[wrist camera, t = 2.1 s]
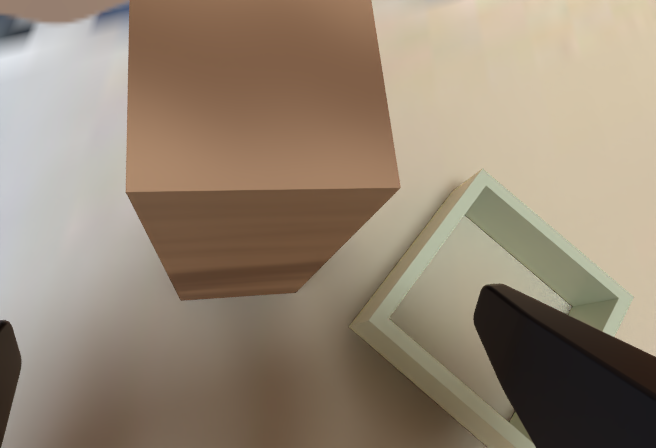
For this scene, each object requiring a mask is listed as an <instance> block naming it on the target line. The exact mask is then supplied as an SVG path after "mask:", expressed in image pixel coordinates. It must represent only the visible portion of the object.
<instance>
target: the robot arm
mask: <svg viewBox="0 0 656 448" xmlns="http://www.w3.org/2000/svg"><path fill="white" fill-rule="evenodd" d="M474 325H475V328H476V330H477V332H478V335H479V337H480V339H481V341H482V344H483V346H484V348H485V350H486V353H487V355H488V357H489V360H490V362H491V364H492V366H493V369H494V371H495V373H496V376H497V378H498V380H499V382H500V384H501V386H502V388H503V390H504V392H505V394H506V396H507V398H508V399H509V401H510V403H511V405H512V406H513V408H514V410H515V412H516V414H517V415H518V417H519V419H520V421H521V422H522V424H523V426H524V428H525V430H526V431H527V433H528V435H529V437H530V438H531V440H532V442H533V444H534V445H535V447H536V448H656V357H655V356H653V355H651V354H648V353H646V352H644V351H642V350H640V349H638V348H636V347H634V346H632V345H630V344H628V343H625V342H623V341H621V340H619V339H617V338H615V337H613V336H611V335H609V334H607V333H605V332H602V331H600V330H598V329H596V328H594V327H592V326H590V325H588V324H586V323H584V322H582V321H580V320H577V319H575V318H573V317H571V316H569V315H567V314H565V313H563V312H561V311H559V310H557V309H554V308H552V307H550V306H548V305H546V304H544V303H542V302H540V301H538V300H536V299H534V298H532V297H529V296H527V295H525V294H523V293H521V292H519V291H517V290H515V289H513V288H511V287H509V286H506V285H504V284H488V285H485V286H484V287H483V288H482V289H481V292H480V295H479V298H478V302H477V305H476V309H475V312H474ZM20 370H21V355H20V351H19V348H18V345H17V341H16V338H15V334H14V331H13V328H12V325H11V324H10V322H8V321H6V320H0V448H1V445H2V442H3V438H4V434H5V430H6V426H7V422H8V418H9V414H10V410H11V406H12V402H13V398H14V394H15V390H16V386H17V382H18V379H19V375H20Z"/></svg>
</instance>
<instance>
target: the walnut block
mask: <svg viewBox="0 0 656 448" xmlns="http://www.w3.org/2000/svg"><path fill="white" fill-rule="evenodd" d="M400 188H401V187H400V181H399V175H398V168H397V162H396V156H395V149H394V143H393V136H392V130H391V124H390V117H389V111H388V104H387V98H386V92H385V85H384V79H383V72H382V66H381V60H380V53H379V47H378V40H377V34H376V28H375V21H374V15H373V9H372V2H371V0H130V7H129V57H128V107H127V157H126V193H127V195H128V197H129V199H130V201H131V203H132V205H133V207H134V209H135V211H136V213H137V215H138V217H139V219H140V221H141V223H142V225H143V227H144V229H145V231H146V233H147V235H148V237H149V239H150V241H151V243H152V245H153V247H154V249H155V251H156V253H157V254H158V256H159V258H160V260H161V262H162V264H163V266H164V268H165V270H166V272H167V274H168V276H169V278H170V280H171V282H172V284H173V286H174V288H175V290H176V292H177V294H178V296H179V298H180V300H181V301H182V300H196V299H211V298H225V297H239V296H253V295H268V294H282V293H296V292H297V291H298V290H299V289H300V288H301V287H302V286H303V285H304V284H305V283H306V282H307V281H308V280H309V279H310V278H311V277H312V276H313V275H314V274H315V273H316V272H317V271H318V270H319V269H320V268H321V267H322V266H323V265H324V264H325V263H326V262H327V261H328V260H329V259H330V258H331V257H332V256H333V255H334V254H335V253H336V252H337V251H338V250H339V249H340V248H341V247H342V246H343V245H344V244H345V243H346V242H347V241H348V240H349V239H350V238H351V237H352V236H353V235H354V234H355V233H356V232H357V231H358V230H359V229H360V228H361V227H362V226H363V225H364V224H365V223H366V222H367V221H368V220H369V219H370V218H371V217H372V216H373V215H374V214H375V213H376V212H377V211H378V210H379V209H380V208H381V207H382V206H383V205H384V204H385V203H386V202H387V201H388V200H389V199H390V198H391V197H392V196H393V195H394V194H395V193H396V192H397V191H398V190H399V189H400Z"/></svg>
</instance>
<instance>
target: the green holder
mask: <svg viewBox="0 0 656 448" xmlns="http://www.w3.org/2000/svg"><path fill="white" fill-rule="evenodd" d="M464 215H466V216H467V217H468V218H469V219H470V220H472V221H473V222H474V223H475V224H476V225H477V226H479V227H480V228H481V229H482V230H483V231H484V232H486V233H487V234H488V235H489V236H490V237H492V238H493V239H494V240H495V241H496V242H497V243H499V244H500V245H501V246H502V247H503V248H504V249H506V250H507V251H508V252H509V253H510V254H511V255H513V256H514V257H515V258H516V259H517V260H519V261H520V262H521V263H522V264H523V265H524V266H526V267H527V268H528V269H529V270H530V271H531V272H533V273H534V274H535V275H536V276H537V277H538V278H540V279H541V280H542V281H543V282H544V283H546V284H547V285H548V286H549V287H550V288H551V289H553V290H554V291H555V292H556V293H557V294H558V295H560V296H561V297H562V298H563V299H564V300H565V301H567V302H568V303H569V304H570V305H571V306H573V307H572V309H571V311H570V312H569V314H568V315H569V316H571V317H573V318H575V319H577V320H580V321H582V322H584V323H586V324H588V325H590V326H592V327H594V328H596V329H598V330H600V331H602V332H605V333H607V334H609V335H611V336H613V337H615V335H616V333H617V331H618V329H619V326H620V324H621V322H622V320H623V318H624V316H625V314H626V312H627V310H628V308H629V306H630V304H631V302H632V300H633V298H634V297H633V296H632V295H631V294H630V293H629V292H628V291H626V290H625V289H624V288H623V287H622V286H620V285H619V284H618V283H617V282H616V281H615V280H613V279H612V278H611V277H610V276H609V275H608V274H606V273H605V272H604V271H603V270H602V269H600V268H599V267H598V266H597V265H596V264H595V263H593V262H592V261H591V260H590V259H589V258H587V257H586V256H585V255H584V254H583V253H582V252H580V251H579V250H578V249H577V248H576V247H574V246H573V245H572V244H571V243H570V242H569V241H567V240H566V239H565V238H564V237H563V236H561V235H560V234H559V233H558V232H557V231H556V230H554V229H553V228H552V227H551V226H550V225H549V224H547V223H546V222H545V221H544V220H543V219H541V218H540V217H539V216H538V215H537V214H536V213H534V212H533V211H532V210H531V209H530V208H528V207H527V206H526V205H525V204H524V203H523V202H521V201H520V200H519V199H518V198H517V197H515V196H514V195H513V194H512V193H511V192H510V191H508V190H507V189H506V188H505V187H504V186H503V185H501V184H500V183H499V182H498V181H497V180H495V179H494V178H493V177H492V176H491V175H490V174H488V173H487V172H486V171H485V170H484V169H481V170H480V171H479V172H477V173H476V174H475V175H473V176H472V177H471V178H469V179H468V180H467V181H465V182H464V183H463V184H461V185H460V186H459V187H458V188H456V189H455V190H454V191H452V193H451V194H450V195H449V196H448V198H447V199H446V200H445V202H444V203H443V204H442V206H441V207H440V208H439V210H438V211H437V212H436V213H435V215H434V216H433V217H432V219H431V220H430V221H429V223H428V224H427V225H426V227H425V228H424V229H423V230H422V232H421V233H420V234H419V236H418V237H417V238H416V240H415V241H414V242H413V244H412V245H411V246H410V247H409V249H408V250H407V251H406V253H405V254H404V255H403V257H402V258H401V259H400V261H399V262H398V263H397V264H396V266H395V267H394V268H393V270H392V271H391V272H390V274H389V275H388V276H387V278H386V279H385V280H384V281H383V283H382V284H381V285H380V287H379V288H378V289H377V291H376V292H375V293H374V295H373V296H372V297H371V298H370V300H369V301H368V302H367V304H366V305H365V306H364V308H363V309H362V310H361V312H360V313H359V314H358V315H357V317H356V318H355V319H354V321H353V322H352V323H351V325H350V326H349V328H351V329H352V330H353V331H354V332H355V333H356V334H357V335H359V336H360V337H361V338H362V339H363V340H364V341H366V342H367V343H368V344H369V345H370V346H371V347H372V348H374V349H375V350H376V351H377V352H378V353H379V354H381V355H382V356H383V357H384V358H385V359H386V360H387V361H389V362H390V363H391V364H392V365H393V366H394V367H396V368H397V369H398V370H399V371H400V372H401V373H402V374H404V375H405V376H406V377H407V378H408V379H409V380H411V381H412V382H413V383H414V384H415V385H416V386H417V387H419V388H420V389H421V390H422V391H423V392H424V393H426V394H427V395H428V396H429V397H430V398H431V399H432V400H434V401H435V402H436V403H437V404H438V405H439V406H441V407H442V408H443V409H444V410H445V411H446V412H447V413H449V414H450V415H451V416H452V417H453V418H454V419H456V420H457V421H458V422H459V423H460V424H461V425H462V426H464V427H465V428H466V429H467V430H468V431H469V432H471V433H472V434H473V435H474V436H475V437H476V438H478V439H479V440H480V441H481V442H482V443H483V444H484V445H486V446H487V447H488V448H536V447H535V445H534V444H533V442H532V440H531V438H530V437H529V435H528V433H527V431H526V430H525V428H524V426H523V424H522V422H521V421H520V419H519V417H518V415H517V414H516V412H515V413H514V414H513V416H512V418H511V420H510V422H508V421H507V420H506V419H505V418H503V417H502V416H501V415H500V414H499V413H498V412H496V411H495V410H494V409H493V408H492V407H491V406H489V405H488V404H487V403H486V402H485V401H484V400H483V399H481V398H480V397H479V396H478V395H477V394H476V393H474V392H473V391H472V390H471V389H470V388H469V387H467V386H466V385H465V384H464V383H463V382H462V381H461V380H459V379H458V378H457V377H456V376H455V375H454V374H452V373H451V372H450V371H449V370H448V369H447V368H445V367H444V366H443V365H442V364H441V363H440V362H439V361H437V360H436V359H435V358H434V357H433V356H432V355H430V354H429V353H428V352H427V351H426V350H425V349H423V348H422V347H421V346H420V345H419V344H418V343H417V342H415V341H414V340H413V339H412V338H411V337H410V336H408V335H407V334H406V333H405V332H404V331H403V330H401V329H400V328H399V327H398V326H397V325H396V324H395V323H393V322H392V321H391V320H390V319H389V318H390V316H391V315H392V313H393V312H394V311H395V309H396V308H397V307H398V305H399V304H400V303H401V301H402V300H403V298H404V297H405V296H406V294H407V293H408V292H409V290H410V289H411V287H412V286H413V285H414V283H415V282H416V281H417V279H418V278H419V277H420V275H421V274H422V272H423V271H424V270H425V268H426V267H427V266H428V264H429V263H430V261H431V260H432V259H433V257H434V256H435V255H436V253H437V252H438V250H439V249H440V248H441V246H442V245H443V244H444V242H445V241H446V240H447V238H448V237H449V235H450V234H451V233H452V231H453V230H454V229H455V227H456V226H457V224H458V223H459V222H460V220H461V219H462V218H463V216H464Z"/></svg>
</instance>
